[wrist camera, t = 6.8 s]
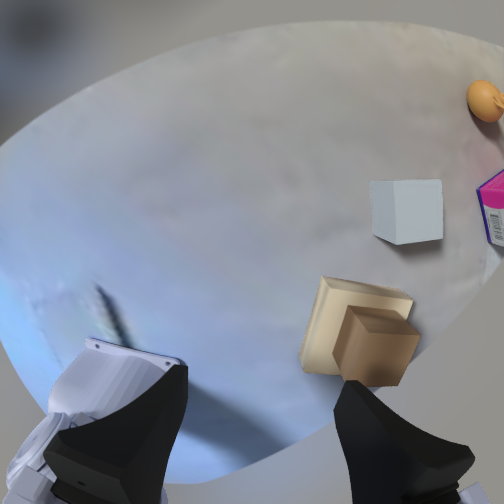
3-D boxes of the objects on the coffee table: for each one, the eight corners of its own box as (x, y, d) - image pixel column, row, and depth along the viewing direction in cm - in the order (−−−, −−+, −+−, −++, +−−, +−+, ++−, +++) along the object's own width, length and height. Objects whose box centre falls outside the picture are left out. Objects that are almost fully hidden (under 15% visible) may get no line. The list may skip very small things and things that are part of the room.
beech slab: (298, 351, 22) (303, 372, 19) (320, 274, 21) (330, 288, 18) (369, 357, 23) (381, 376, 20) (396, 287, 21) (413, 300, 18)
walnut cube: (331, 353, 19) (346, 386, 15) (347, 304, 18) (368, 332, 14) (377, 355, 19) (397, 385, 15) (394, 310, 18) (421, 335, 14)
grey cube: (372, 234, 20) (396, 244, 16) (368, 181, 19) (393, 180, 15) (414, 229, 20) (442, 238, 16) (412, 179, 19) (441, 179, 15)
